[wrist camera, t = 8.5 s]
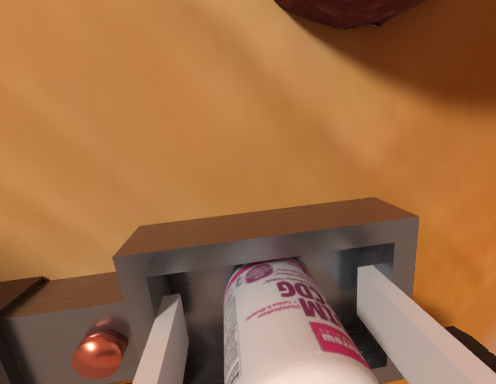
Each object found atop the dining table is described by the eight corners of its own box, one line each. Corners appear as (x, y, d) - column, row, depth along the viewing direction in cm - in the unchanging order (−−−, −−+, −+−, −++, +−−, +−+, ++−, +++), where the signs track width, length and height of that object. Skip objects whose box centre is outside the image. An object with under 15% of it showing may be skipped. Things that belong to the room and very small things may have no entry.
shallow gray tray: (-60, 403, 13) (-149, 489, 10) (-138, 260, 11) (-283, 312, 8) (368, 330, 15) (407, 382, 12) (374, 197, 13) (423, 218, 10)
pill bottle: (318, 251, 12) (503, 476, 4) (307, 329, 14) (436, 625, 5) (225, 250, 12) (235, 507, 4) (221, 331, 13) (221, 667, 5)
